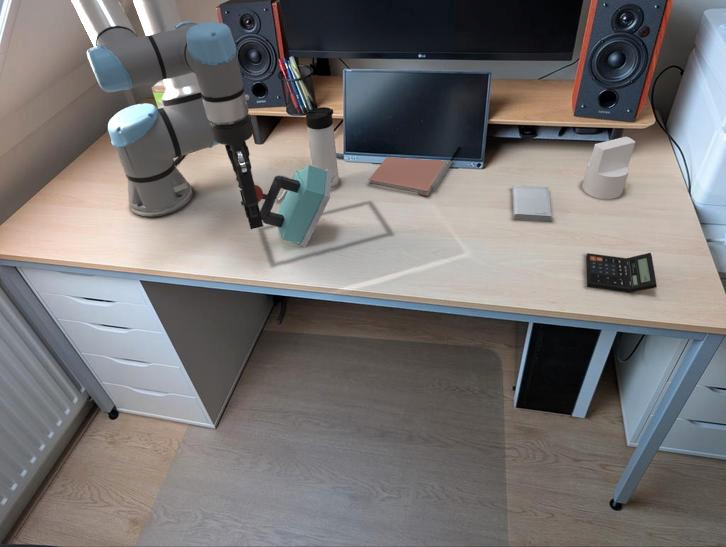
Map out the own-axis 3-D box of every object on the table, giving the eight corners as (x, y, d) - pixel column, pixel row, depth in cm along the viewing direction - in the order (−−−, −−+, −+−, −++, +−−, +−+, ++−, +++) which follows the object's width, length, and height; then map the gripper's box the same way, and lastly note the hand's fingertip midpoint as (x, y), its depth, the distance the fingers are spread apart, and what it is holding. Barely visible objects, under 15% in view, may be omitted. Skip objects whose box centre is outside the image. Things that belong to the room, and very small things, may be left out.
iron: (326, 160, 112) (258, 137, 104) (338, 180, 106) (267, 158, 97) (295, 224, 120) (230, 208, 112) (305, 247, 113) (236, 231, 105)
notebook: (431, 197, 126) (432, 190, 125) (368, 185, 132) (368, 178, 130) (464, 146, 144) (464, 140, 143) (407, 137, 150) (407, 131, 148)
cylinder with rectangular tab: (598, 202, 120) (611, 156, 112) (574, 183, 127) (585, 138, 119) (630, 194, 122) (646, 147, 114) (605, 175, 129) (618, 130, 121)
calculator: (586, 256, 106) (589, 244, 104) (648, 264, 104) (652, 252, 102) (587, 286, 100) (590, 275, 98) (653, 296, 97) (658, 284, 95)
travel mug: (337, 192, 130) (329, 116, 117) (312, 190, 132) (301, 115, 118) (343, 179, 135) (335, 105, 122) (318, 177, 136) (309, 104, 123)
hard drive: (552, 216, 115) (548, 185, 124) (514, 213, 116) (512, 184, 125) (550, 222, 116) (547, 191, 125) (513, 219, 117) (512, 189, 126)
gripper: (258, 131, 90) (280, 238, 105) (241, 96, 102) (264, 197, 117) (214, 140, 88) (244, 248, 103) (203, 103, 100) (231, 205, 116)
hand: (254, 220), depth 110 cm, fingers closed on iron, 4 cm apart
